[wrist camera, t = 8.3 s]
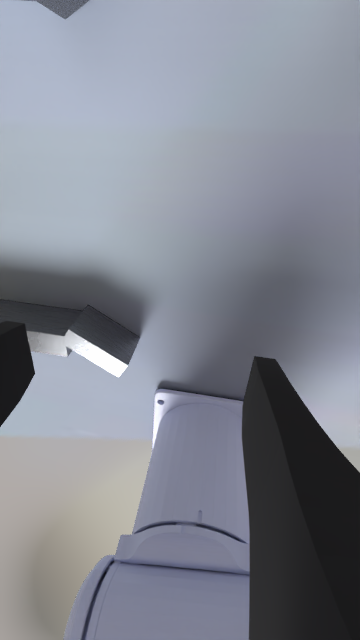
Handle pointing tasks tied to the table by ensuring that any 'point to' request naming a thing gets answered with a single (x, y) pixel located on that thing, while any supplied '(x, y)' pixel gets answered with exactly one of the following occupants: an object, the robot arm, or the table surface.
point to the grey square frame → (66, 324)
